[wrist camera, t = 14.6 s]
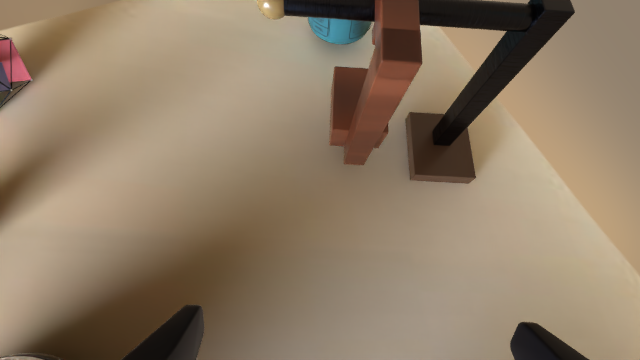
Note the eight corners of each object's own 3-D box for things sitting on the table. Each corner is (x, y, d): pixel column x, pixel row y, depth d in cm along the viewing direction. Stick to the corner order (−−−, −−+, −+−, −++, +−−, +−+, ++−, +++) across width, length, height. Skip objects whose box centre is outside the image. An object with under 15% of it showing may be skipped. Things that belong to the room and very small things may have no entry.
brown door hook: (378, 166, 24) (453, 65, 12) (328, 163, 23) (350, 58, 11) (378, 90, 25) (442, -66, 13) (331, 87, 25) (353, -72, 13)
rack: (468, 183, 25) (636, 63, 12) (275, 173, 25) (242, 37, 12) (459, 122, 27) (593, -32, 15) (281, 112, 27) (260, -58, 14)
